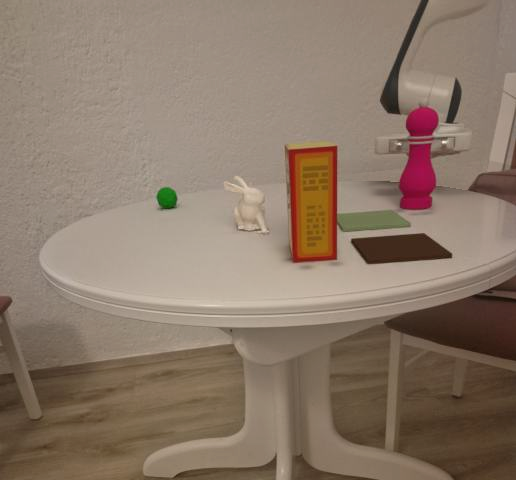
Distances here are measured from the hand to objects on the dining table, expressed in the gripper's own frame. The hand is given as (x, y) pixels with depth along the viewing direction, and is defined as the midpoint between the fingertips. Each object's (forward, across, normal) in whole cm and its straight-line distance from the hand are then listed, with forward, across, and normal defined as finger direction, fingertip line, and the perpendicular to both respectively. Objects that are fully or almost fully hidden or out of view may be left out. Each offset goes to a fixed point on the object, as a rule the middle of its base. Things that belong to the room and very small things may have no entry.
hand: (421, 146), depth 100 cm
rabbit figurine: (+26, -30, +11) cm, 41 cm away
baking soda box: (+40, -15, +11) cm, 44 cm away
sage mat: (+20, -8, +11) cm, 24 cm away
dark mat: (+38, -2, +11) cm, 40 cm away
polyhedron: (+7, -57, +11) cm, 59 cm away
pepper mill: (+7, 0, +11) cm, 13 cm away
